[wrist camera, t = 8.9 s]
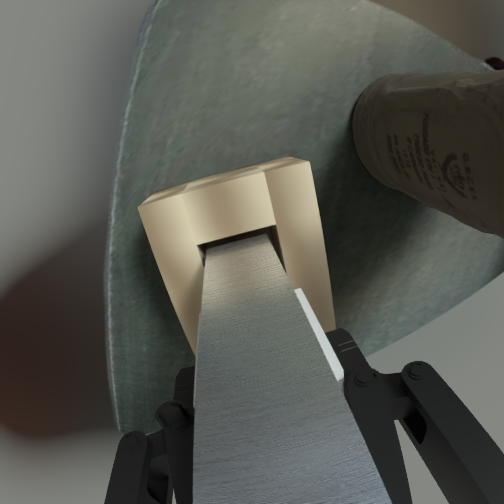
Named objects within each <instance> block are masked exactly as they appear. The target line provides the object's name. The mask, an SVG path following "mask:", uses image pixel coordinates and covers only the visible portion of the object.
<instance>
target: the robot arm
mask: <svg viewBox="0 0 504 504" xmlns="http://www.w3.org/2000/svg"><path fill="white" fill-rule="evenodd" d="M294 291H295V293H296V295H297V297H298V299H299V301H300V303H301V306H302V308H303V310H304V312H305V314H306V316H307V318H308V320H309V322H310V324H311V326H312V328H313V331H314V333H315V335H316V337H317V339H318V341H319V343H320V345H321V347H322V350H323V352H324V354H325V356H326V358H327V360H328V362H329V364H330V367H331V369H332V371H333V373H334V375H335V377H336V379H337V382H338V384H339V386H340V388H341V390H342V392H343V395H344V397H345V399H346V401H347V403H348V405H349V408H350V410H351V412H352V414H353V416H354V419H355V421H356V423H357V425H358V427H359V430H360V432H361V434H362V436H363V439H364V441H365V443H366V445H367V447H368V450H369V452H370V454H371V456H372V459H373V461H374V463H375V466H376V468H377V470H378V472H379V475H380V477H381V479H382V482H383V484H384V486H385V488H386V491H387V493H388V495H389V498H390V500H391V502H392V504H412V499H411V493H410V488H409V483H408V478H407V474H406V469H405V465H404V460H403V456H402V451H401V447H400V443H399V439H398V435H397V431H396V427H395V424H394V420H399V422H400V423H401V425H402V427H403V428H404V430H405V431H406V433H407V434H408V436H409V438H410V440H411V441H412V443H413V444H414V446H415V448H416V449H417V451H418V452H419V454H420V456H421V457H422V459H423V461H424V462H425V464H426V466H427V467H428V469H429V471H430V472H431V474H432V476H433V477H434V479H435V481H436V482H437V484H438V486H439V487H440V489H441V491H442V492H443V494H444V496H445V497H446V499H447V501H448V502H449V504H504V454H503V452H502V451H501V450H500V448H499V447H498V446H497V445H496V443H495V442H494V441H493V439H492V438H491V437H490V436H489V434H488V433H487V432H486V430H484V428H483V427H482V425H481V424H480V423H479V422H478V421H477V419H476V418H475V417H474V416H473V414H472V413H471V412H470V411H469V410H468V408H467V407H466V406H465V405H464V404H463V402H462V401H461V400H460V399H459V398H458V396H457V395H456V394H455V393H454V392H453V391H452V389H451V388H450V387H449V386H448V385H447V383H446V382H445V381H444V380H443V379H442V378H441V377H440V376H439V374H438V373H437V372H436V371H435V370H434V368H433V367H432V366H431V365H429V364H428V363H426V362H423V361H414V362H411V363H409V364H407V365H406V366H405V367H404V368H403V370H402V372H400V373H393V374H382V373H379V372H378V371H376V370H375V369H372V368H371V367H370V366H369V364H368V362H367V361H366V359H365V358H364V356H363V354H362V353H361V351H360V349H359V348H358V347H357V345H356V343H355V341H354V340H353V338H352V337H351V335H350V333H349V332H347V331H345V330H344V329H342V328H339V329H336V330H333V331H329V332H326V333H324V331H323V329H322V327H321V325H320V324H319V322H318V320H317V318H316V316H315V314H314V312H313V310H312V308H311V306H310V304H309V303H308V301H307V299H306V297H305V295H304V293H303V291H302V289H301V288H299V289H295V290H294ZM200 316H201V314H199V324H198V336H197V350H196V365H195V366H194V367H189V368H184V369H181V370H180V372H179V373H178V375H177V377H176V383H175V386H176V387H175V391H174V392H175V393H174V399H173V400H171V401H168V402H166V403H163V404H162V405H161V406H160V407H159V408H158V409H157V411H156V414H155V418H156V419H157V421H158V422H159V423H160V425H161V426H162V427H163V429H162V430H160V431H158V432H155V433H152V434H150V435H147V436H146V435H145V434H144V433H142V432H140V431H132V432H129V433H127V434H125V435H124V436H123V437H122V438H121V440H120V442H119V445H118V449H117V453H116V457H115V460H114V464H113V468H112V473H111V477H110V481H109V486H108V490H107V494H106V499H105V503H104V504H172V496H173V488H174V493H175V498H176V503H177V504H193V449H194V418H195V395H196V376H197V359H198V344H199V330H200Z"/></svg>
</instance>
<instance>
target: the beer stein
mask: <svg viewBox="0 0 504 504" xmlns="http://www.w3.org/2000/svg"><path fill="white" fill-rule="evenodd" d="M352 129H353V140H354V144H355V147H356V151H357V154H358V156H359V158H360V160H361V161H362V163H363V165H364V166H365V167H366V169H367V170H368V171H369V173H370V174H371V175H372V176H373V177H374V178H375V179H377V180H378V181H379V182H380V183H382V184H383V185H385V186H387V187H389V188H392V189H396V190H399V191H401V192H403V193H405V194H407V195H408V196H410V197H411V198H414V199H416V200H418V201H419V202H420V203H421V204H424V205H426V206H428V207H431V208H435V209H437V210H439V211H442V212H444V213H446V214H448V215H450V216H452V217H454V218H455V219H457V220H458V221H460V222H462V223H464V224H466V225H468V226H471V227H473V228H475V229H477V230H479V231H481V232H483V233H490V234H496V235H498V236H499V237H501V238H503V239H504V70H489V71H485V72H480V73H478V72H473V71H455V72H445V73H437V74H424V73H420V72H409V73H405V74H391V75H387V76H384V77H381V78H379V79H377V80H375V81H374V82H372V83H371V84H370V85H369V86H368V87H367V88H366V89H365V90H364V91H363V93H362V94H361V96H360V97H359V99H358V101H357V104H356V107H355V110H354V114H353V121H352Z"/></svg>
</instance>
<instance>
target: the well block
mask: <svg viewBox="0 0 504 504" xmlns="http://www.w3.org/2000/svg"><path fill="white" fill-rule="evenodd" d="M138 210H139V213H140V216H141V219H142V222H143V225H144V228H145V231H146V234H147V237H148V240H149V242H150V245H151V248H152V251H153V254H154V256H155V259H156V262H157V265H158V267H159V270H160V273H161V275H162V278H163V281H164V283H165V286H166V288H167V291H168V293H169V296H170V298H171V301H172V303H173V306H174V308H175V311H176V313H177V316H178V318H179V320H180V323H181V325H182V328H183V330H184V332H185V335H186V337H187V339H188V341H189V344H190V346H191V348H192V350H193V353H194V355H195V357H196V350H197V336H198V324H199V314H201V304H202V292H203V281H204V270H205V260H206V250H207V249H209V248H213V247H216V246H220V245H224V244H228V243H232V242H235V241H239V240H243V239H247V238H251V237H255V236H258V235H262V234H267V236H268V238H269V240H270V242H271V244H272V246H273V248H274V250H275V252H276V254H277V256H278V258H279V260H280V262H281V264H282V266H283V268H284V271H285V273H286V275H287V277H288V279H289V281H290V283H291V285H292V287H293V289H294V290H295V289H299V288H301V289H302V291H303V293H304V295H305V297H306V299H307V301H308V303H309V304H310V306H311V308H312V310H313V312H314V314H315V316H316V318H317V320H318V322H319V324H320V325H321V327H322V329H323V331H324V333H326V332H329V331H333V330H336V325H335V316H334V308H333V300H332V292H331V285H330V277H329V270H328V264H327V257H326V250H325V244H324V238H323V232H322V226H321V220H320V214H319V208H318V203H317V198H316V192H315V187H314V182H313V177H312V172H311V167H310V162H308V161H304V160H301V159H297V158H293V157H284V158H280V159H276V160H271V161H267V162H263V163H258V164H254V165H250V166H246V167H242V168H238V169H234V170H230V171H226V172H223V173H219V174H215V175H211V176H208V177H204V178H200V179H197V180H193V181H190V182H186V183H183V184H180V185H176V186H173V187H169V188H166V189H163V190H160V191H156V192H155V193H154V194H153V195H152V196H150V197H149V198H148V199H147V200H146V201H144V202H143V203H142V204H141V205H140V206H139V207H138Z"/></svg>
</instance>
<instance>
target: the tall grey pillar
mask: <svg viewBox="0 0 504 504" xmlns="http://www.w3.org/2000/svg"><path fill="white" fill-rule="evenodd" d="M193 504H392V502H391V500H390V498H389V495H388V493H387V491H386V488H385V486H384V484H383V482H382V479H381V477H380V475H379V472H378V470H377V468H376V466H375V463H374V461H373V459H372V456H371V454H370V452H369V450H368V447H367V445H366V443H365V441H364V439H363V436H362V434H361V432H360V430H359V427H358V425H357V423H356V421H355V419H354V416H353V414H352V412H351V410H350V408H349V405H348V403H347V401H346V399H345V397H344V395H343V392H342V390H341V388H340V386H339V384H338V382H337V379H336V377H335V375H334V373H333V371H332V369H331V367H330V364H329V362H328V360H327V358H326V356H325V354H324V352H323V350H322V347H321V345H320V343H319V341H318V339H317V337H316V335H315V333H314V331H313V328H312V326H311V324H310V322H309V320H308V318H307V316H306V314H305V312H304V310H303V308H302V306H301V303H300V301H299V299H298V297H297V295H296V293H295V291H294V289H293V287H292V285H291V283H290V281H289V279H288V277H287V275H286V273H285V271H284V268H283V266H282V264H281V262H280V260H279V258H278V256H277V254H276V252H275V250H274V248H273V246H272V244H271V242H270V240H269V238H268V236H267V234H262V235H258V236H255V237H251V238H247V239H243V240H239V241H235V242H232V243H228V244H224V245H220V246H216V247H213V248H209V249H207V250H206V260H205V270H204V281H203V292H202V304H201V316H200V330H199V344H198V359H197V376H196V395H195V418H194V449H193Z"/></svg>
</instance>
